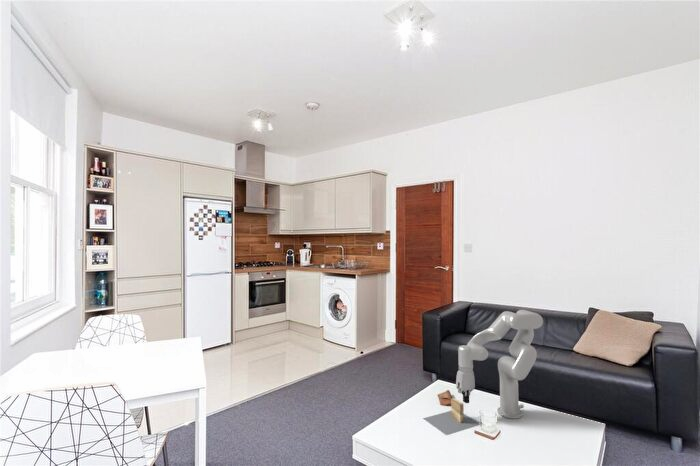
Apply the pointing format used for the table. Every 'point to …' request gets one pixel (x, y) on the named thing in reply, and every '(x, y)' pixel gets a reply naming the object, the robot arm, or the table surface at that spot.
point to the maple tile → (457, 410)
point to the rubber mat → (450, 423)
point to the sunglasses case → (445, 398)
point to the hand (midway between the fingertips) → (466, 402)
